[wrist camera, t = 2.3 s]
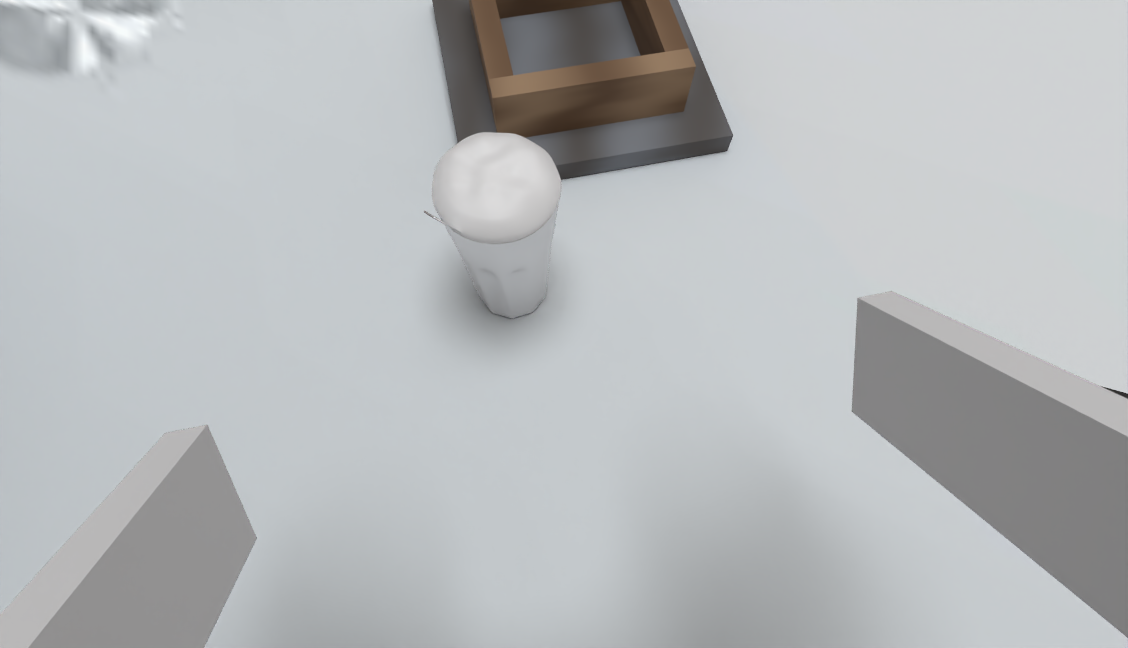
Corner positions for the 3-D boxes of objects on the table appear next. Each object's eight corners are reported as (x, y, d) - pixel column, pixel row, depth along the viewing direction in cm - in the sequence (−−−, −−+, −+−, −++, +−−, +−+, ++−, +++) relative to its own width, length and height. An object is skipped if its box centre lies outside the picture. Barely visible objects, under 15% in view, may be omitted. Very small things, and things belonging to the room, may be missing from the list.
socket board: (468, 195, 30) (455, 139, 26) (434, 7, 35) (419, -63, 32) (727, 150, 31) (750, 91, 28) (656, -25, 37) (668, -95, 33)
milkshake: (434, 310, 28) (372, 178, 18) (504, 231, 29) (479, 74, 20) (511, 363, 27) (486, 252, 17) (578, 278, 28) (588, 136, 19)
